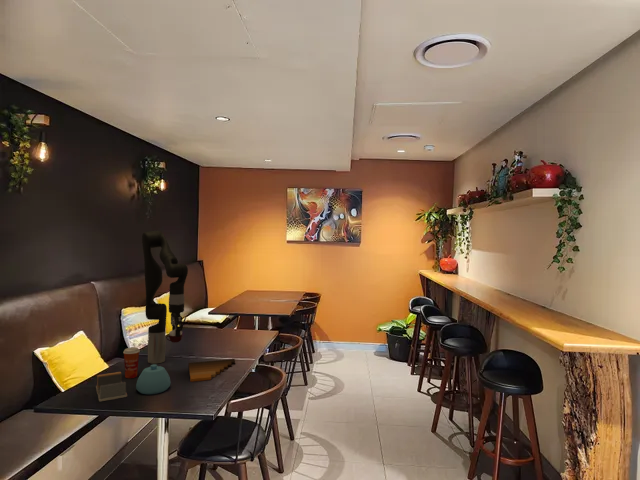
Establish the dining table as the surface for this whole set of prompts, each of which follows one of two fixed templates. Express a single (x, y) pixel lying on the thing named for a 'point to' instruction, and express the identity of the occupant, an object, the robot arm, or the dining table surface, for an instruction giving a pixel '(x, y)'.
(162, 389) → the teal dome lid
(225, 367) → the pan flute
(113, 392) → the beige napkin holder
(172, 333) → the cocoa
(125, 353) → the paper cup
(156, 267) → the robot arm
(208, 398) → the dining table surface
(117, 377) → the sliding jaw
